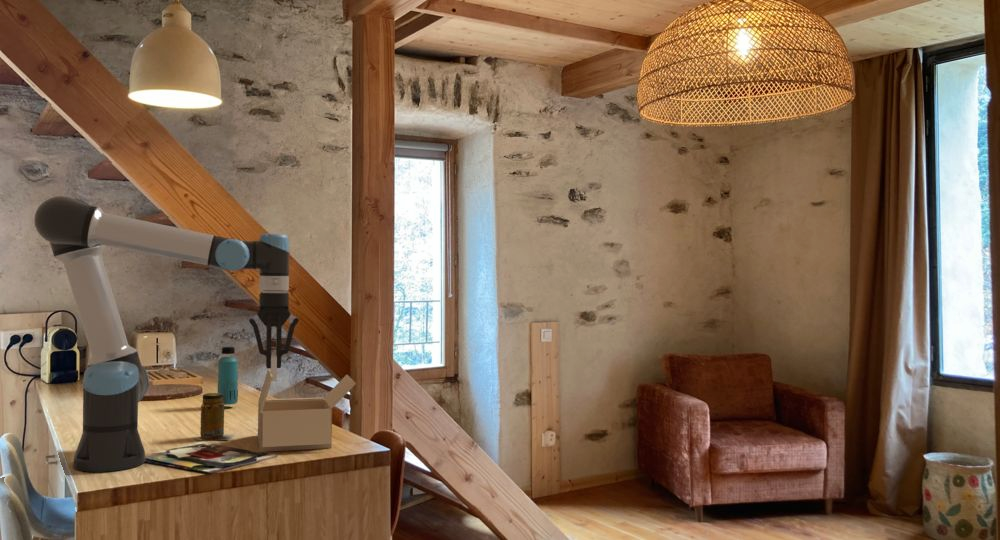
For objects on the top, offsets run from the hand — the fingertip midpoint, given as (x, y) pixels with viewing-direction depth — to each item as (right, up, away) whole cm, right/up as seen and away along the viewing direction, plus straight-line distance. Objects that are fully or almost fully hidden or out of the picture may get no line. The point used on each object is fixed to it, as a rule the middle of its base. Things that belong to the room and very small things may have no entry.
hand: (273, 380), depth 208 cm
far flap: (+2, -7, +10) cm, 12 cm away
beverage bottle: (-30, -16, +49) cm, 60 cm away
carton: (+5, -17, +2) cm, 18 cm away
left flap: (-3, -7, -1) cm, 7 cm away
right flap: (+13, -7, +5) cm, 16 cm away
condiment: (-18, -17, +6) cm, 25 cm away
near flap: (+8, -7, -6) cm, 12 cm away
